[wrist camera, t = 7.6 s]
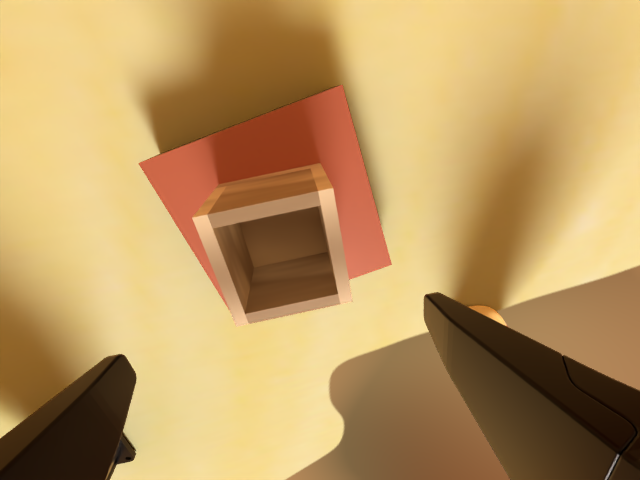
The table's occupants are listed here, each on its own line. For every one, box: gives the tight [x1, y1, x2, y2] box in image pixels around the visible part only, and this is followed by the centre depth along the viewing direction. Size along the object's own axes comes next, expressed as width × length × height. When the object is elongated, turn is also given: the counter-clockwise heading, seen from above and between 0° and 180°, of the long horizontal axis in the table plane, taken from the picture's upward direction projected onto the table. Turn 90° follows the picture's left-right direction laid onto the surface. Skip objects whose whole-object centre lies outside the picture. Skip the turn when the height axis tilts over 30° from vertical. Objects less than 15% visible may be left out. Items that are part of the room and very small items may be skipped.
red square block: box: [139, 85, 392, 309], centre depth 19 cm, size 11×11×4 cm
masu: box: [192, 163, 353, 327], centre depth 15 cm, size 6×6×5 cm
